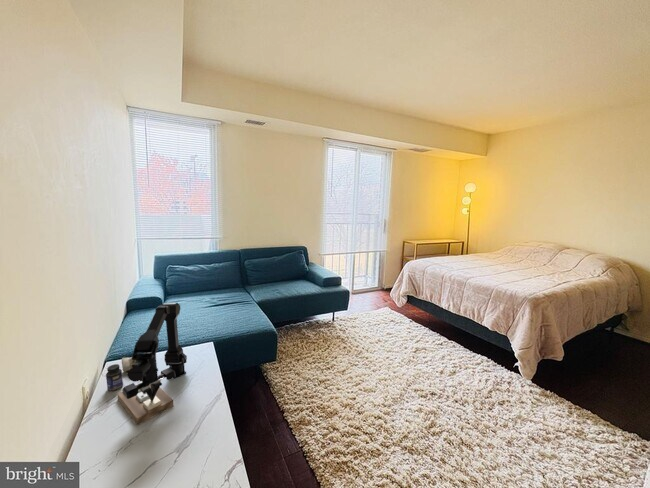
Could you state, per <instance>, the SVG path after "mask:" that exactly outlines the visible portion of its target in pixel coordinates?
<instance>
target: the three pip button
mask: <svg viewBox="0 0 650 488" xmlns="http://www.w3.org/2000/svg"><path fill="white" fill-rule="evenodd" d="M136 397H137V400H138V401H139V402H140V403H141V402H143V401H145V400H147V399H149V397H148V395H147V393H143V392H140V393H138V394H137V395H136Z"/></svg>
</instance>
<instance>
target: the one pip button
mask: <svg viewBox="0 0 650 488" xmlns="http://www.w3.org/2000/svg"><path fill="white" fill-rule="evenodd" d="M159 405H161V401H160V400H159V399H158V398H157V397H156V396H155V397H154V400H153V401H151V400H150V399H148V400H146V401H144V402H143V406H144V408H145V409H146V410H147V411H149V410H151V409H153V408H155V407H157V406H159Z"/></svg>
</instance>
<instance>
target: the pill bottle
mask: <svg viewBox="0 0 650 488" xmlns="http://www.w3.org/2000/svg"><path fill="white" fill-rule="evenodd" d="M120 367H121V366H120V364H118V363H116V364H111V365H109V366H108V367H107V368H106V369H107V372H106V374H105V377H106V388H107V391H108V392H115V391H118V390H120V389H122V387H124V381H123V379H124V378H123V370H122V368H120Z"/></svg>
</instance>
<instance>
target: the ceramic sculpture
mask: <svg viewBox="0 0 650 488" xmlns="http://www.w3.org/2000/svg"><path fill="white" fill-rule="evenodd" d="M135 362H136V360H132V356H131V357H122V358H121V367H122V368H121V370H122V372H124V373H125V372H127V373H128V371H129V370H130V369H131V368H132V365H133V364H134V363H135Z"/></svg>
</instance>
